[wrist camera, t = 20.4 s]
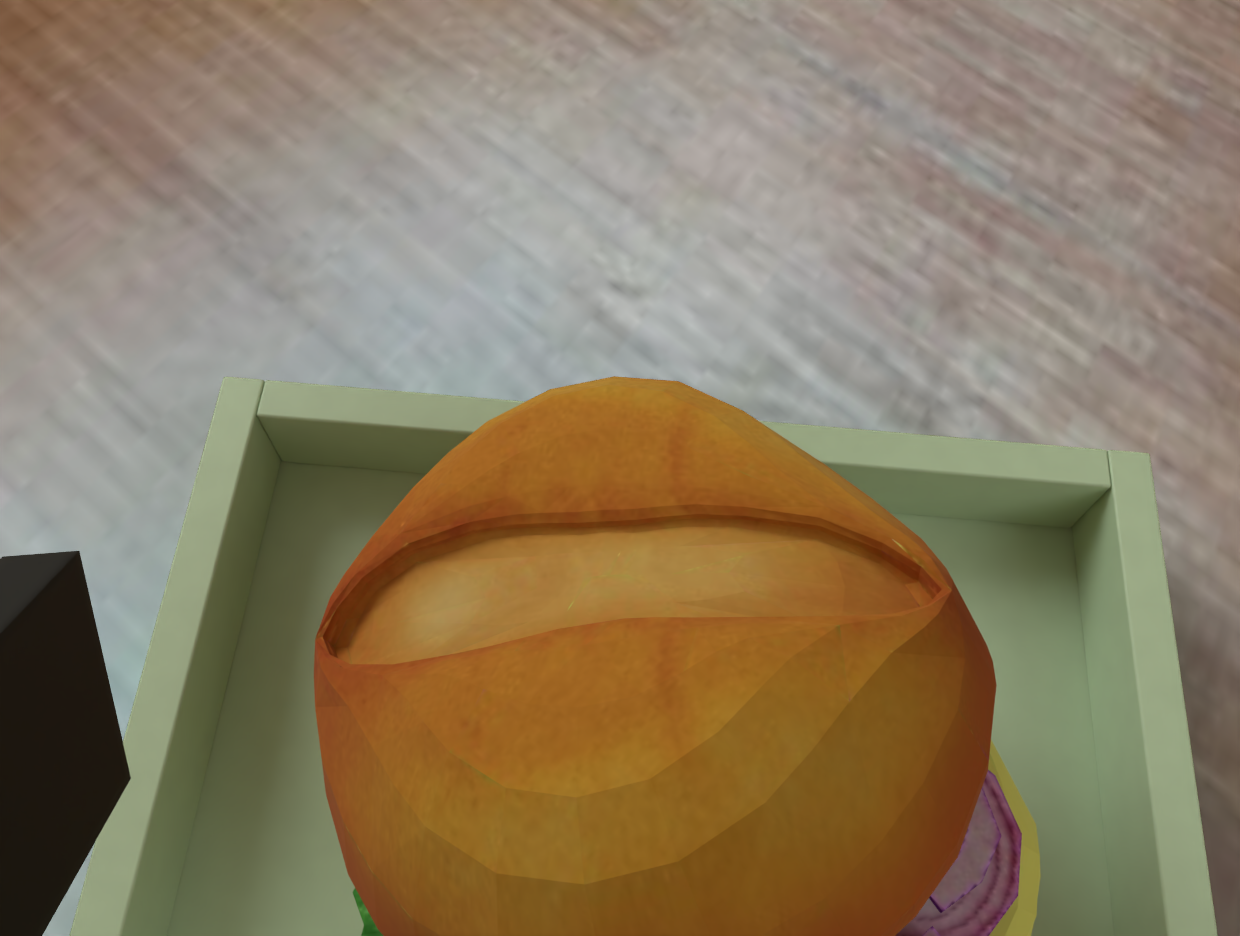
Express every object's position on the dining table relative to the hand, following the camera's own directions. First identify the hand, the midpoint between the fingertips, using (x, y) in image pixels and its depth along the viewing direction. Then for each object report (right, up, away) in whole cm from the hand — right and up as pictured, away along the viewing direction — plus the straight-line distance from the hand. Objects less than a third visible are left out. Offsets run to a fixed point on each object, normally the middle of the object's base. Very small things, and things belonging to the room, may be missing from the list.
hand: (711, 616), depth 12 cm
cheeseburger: (0, -5, +8) cm, 9 cm away
